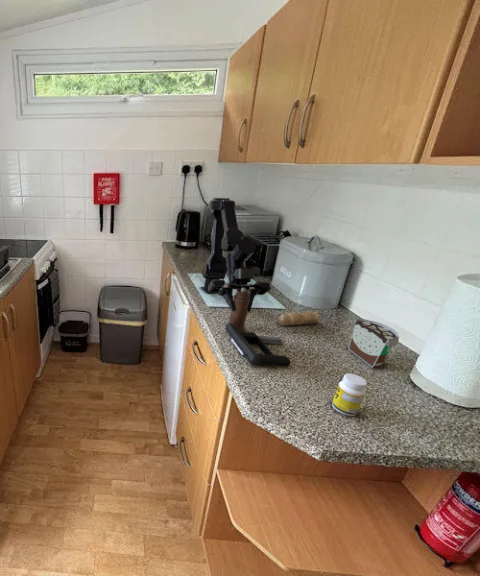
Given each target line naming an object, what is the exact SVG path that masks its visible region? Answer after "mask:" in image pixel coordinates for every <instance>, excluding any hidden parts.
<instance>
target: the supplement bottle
mask: <svg viewBox="0 0 480 576" xmlns="http://www.w3.org/2000/svg"><path fill="white" fill-rule="evenodd" d="M367 385H368V382H367V381H366V379H364V378H363V377H361V376H360V375H357V374H354V373H345V374H344V376H343V377H342V380H341V381H339V383H338V385H337V388H336V391H335V393H334V396H333V399H332V402H331V406H332V408H333V409H334V410H335V411H337V412H338V413H340V414H342V415H345V416H348V417H354V416H356V415H357V414H358V412H359V410H360V408H361V405H362V403H363V400H364V399H365V396H366V388H367Z"/></svg>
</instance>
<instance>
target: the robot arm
mask: <svg viewBox="0 0 480 576" xmlns="http://www.w3.org/2000/svg"><path fill="white" fill-rule="evenodd" d="M208 209H209V215H210V216H211V218H212V220H213V222H212V235H211V248H210V249H211V250H210V255H209V257H208V258H207V259H206V260H205V264H204V266H203V267H202V270H201V277H203V279H204V284H203V286H200V289H201V290H202V291H204V292H205V293H206V294H217V293H218V295H219V296H221V297H222V299H224V301H225V302H226V304H227V305H228V307H229V308H230V310H232V311H234V301H233V300H234V296H233V290H236V291H237V290H238V289H242V288H246V290H248V291H250V296H249V297H250V302H249V307H248V311H247V313H249V312H251V310H252V307H253V303H254V299H255V297H256V296H263V295H266V294H267V293H268V292H269V291H270V290H271V289H272V285H271V283H270V282H269V281H265V280H257V281H255V282H254V283H253V284H249V283H250V282H252V280H255V278H259V277H260V276H261V269H260V267H259V266H252V267H251V268H248V267H246V262H247V261H248V260H249V259H250V258H251V257H252V255H253V254H254V253H255V252H256V251H257V245H256V243H255V242H254V241H253V240H251V239H249V236H246V235H244V233H243V232H242V231H241V230H240V229H239V225H238V220H237V219H238V218H237V214H236V201H235V200H233V199H232V200H231V199H230V198H229V197H213V198H212V199H211V200H210V201H209V203H208ZM224 252H225V253H228V254H227V255H226V257H224V255H223V254H224ZM225 278H228V282H226V280H225Z"/></svg>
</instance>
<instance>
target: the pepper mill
mask: <svg viewBox="0 0 480 576" xmlns="http://www.w3.org/2000/svg"><path fill="white" fill-rule="evenodd" d="M249 296H250V291H248V290H246V288H242V289H238V290H236V291H235V294H234V296H233V301H234V311H232V310H231V309H230V310H231V311H230V316H229V321H228V324H229V323H231V324H233V325H234V326H235V327H236V328H237V329H238V331H241V330H242V331H243V330H244V329H245V325H246V320H247V316H248V307H249V302H250V297H249Z"/></svg>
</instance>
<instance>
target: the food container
mask: <svg viewBox="0 0 480 576" xmlns="http://www.w3.org/2000/svg"><path fill="white" fill-rule="evenodd" d="M352 325H353V330H352V333H351V337H350V340H349V344H348V348H347V350H348V351H349V352H351V353H352V354H354V355H355V356H356V357H358V358H359V359H360V360H362V362H364V363H365V364H367V365H368V366H369V367H371V368H372V369H378V368H380V367H381V366H382V365H383V363H384V362H385V360H386V359H387V356H388V355H389V353H390V352H391V350H392V348H393V347H395V346H397V345H398V344H399V340H400V336H399V333H398V332H397V330H395V329H393V328H392V327H390V326H388V325H386V324H383V323H382V322H381V323H380V322H378V321H374V320H370V319H365V318H356V319H355V320H354V321H353V323H352Z"/></svg>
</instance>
